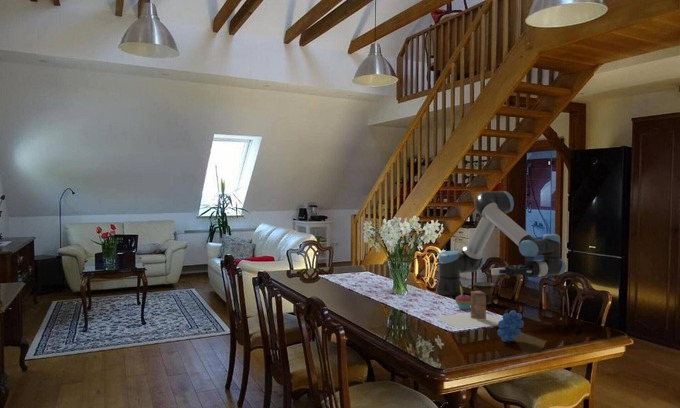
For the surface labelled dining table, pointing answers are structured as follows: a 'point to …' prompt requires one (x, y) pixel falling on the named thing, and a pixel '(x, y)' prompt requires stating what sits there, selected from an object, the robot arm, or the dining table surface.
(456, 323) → the felt mat
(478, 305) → the walnut block
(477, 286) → the ceramic cup
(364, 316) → the dining table surface
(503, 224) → the robot arm
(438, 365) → the dining table surface
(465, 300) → the cupcake
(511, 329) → the grapes
